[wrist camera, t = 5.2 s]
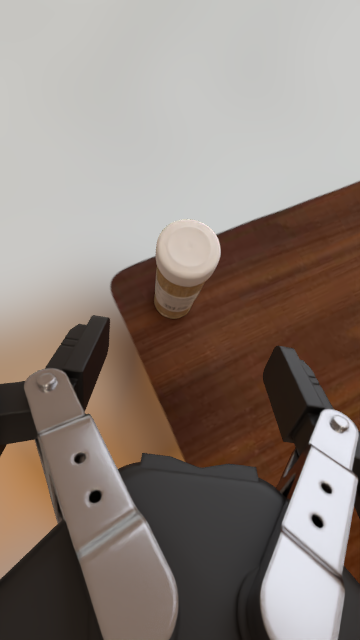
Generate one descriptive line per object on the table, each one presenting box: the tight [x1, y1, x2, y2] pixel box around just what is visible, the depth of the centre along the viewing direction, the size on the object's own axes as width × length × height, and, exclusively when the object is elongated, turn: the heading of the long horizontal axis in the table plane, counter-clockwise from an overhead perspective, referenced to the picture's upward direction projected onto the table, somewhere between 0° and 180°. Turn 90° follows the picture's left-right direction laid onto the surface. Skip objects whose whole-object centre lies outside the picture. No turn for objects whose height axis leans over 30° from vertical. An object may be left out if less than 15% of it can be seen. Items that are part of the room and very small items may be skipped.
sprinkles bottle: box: [154, 219, 221, 319], centre depth 25 cm, size 5×5×13 cm
